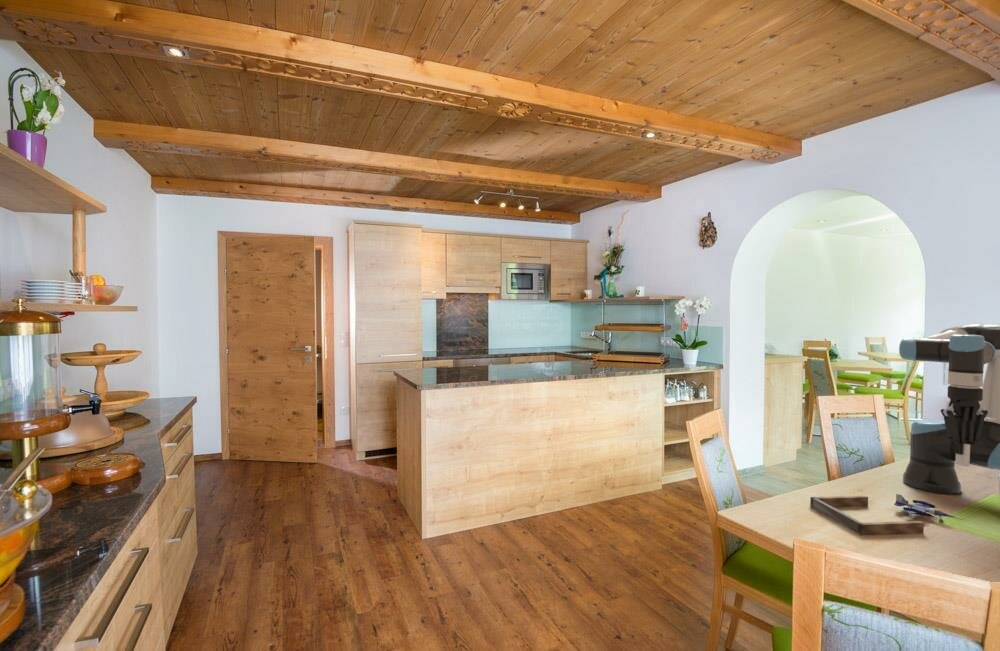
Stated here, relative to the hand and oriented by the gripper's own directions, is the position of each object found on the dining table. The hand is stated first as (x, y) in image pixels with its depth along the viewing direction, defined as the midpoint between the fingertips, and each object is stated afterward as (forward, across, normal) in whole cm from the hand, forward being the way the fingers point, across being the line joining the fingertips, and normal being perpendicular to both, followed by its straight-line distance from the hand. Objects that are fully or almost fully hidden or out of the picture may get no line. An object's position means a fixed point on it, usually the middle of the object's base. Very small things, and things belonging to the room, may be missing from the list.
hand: (962, 464), depth 143 cm
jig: (+16, -30, 0) cm, 34 cm away
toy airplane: (+16, -12, 0) cm, 20 cm away
